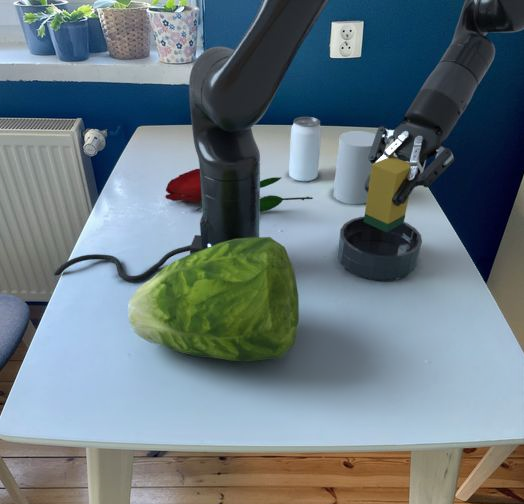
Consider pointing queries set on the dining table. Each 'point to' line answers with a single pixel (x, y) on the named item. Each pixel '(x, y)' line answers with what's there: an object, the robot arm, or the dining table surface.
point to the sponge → (386, 194)
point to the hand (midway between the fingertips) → (381, 197)
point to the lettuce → (222, 302)
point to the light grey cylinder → (353, 167)
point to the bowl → (378, 250)
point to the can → (305, 149)
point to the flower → (191, 192)
